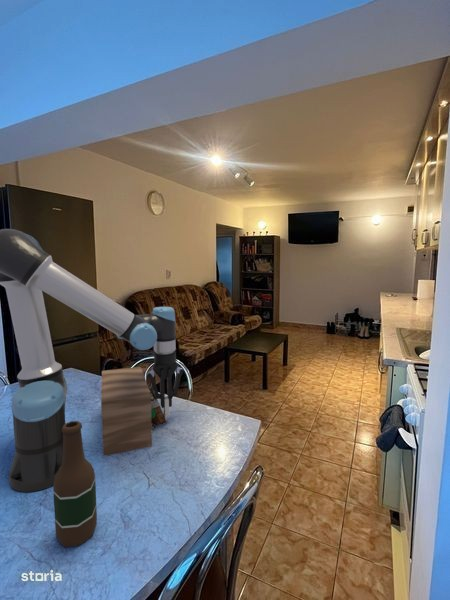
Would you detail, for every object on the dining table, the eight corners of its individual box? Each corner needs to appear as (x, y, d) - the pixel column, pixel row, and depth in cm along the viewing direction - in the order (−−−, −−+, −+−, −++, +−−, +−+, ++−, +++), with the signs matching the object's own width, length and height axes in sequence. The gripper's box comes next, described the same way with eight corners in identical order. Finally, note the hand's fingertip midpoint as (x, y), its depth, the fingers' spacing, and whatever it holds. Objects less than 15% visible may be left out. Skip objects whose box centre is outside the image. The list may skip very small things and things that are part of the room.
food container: (145, 415, 116) (135, 393, 113) (160, 407, 118) (151, 385, 115) (150, 433, 105) (139, 410, 102) (167, 424, 106) (157, 400, 103)
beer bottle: (99, 538, 64) (95, 428, 61) (56, 556, 60) (49, 438, 57) (94, 512, 70) (90, 411, 68) (55, 526, 67) (49, 420, 64)
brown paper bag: (151, 446, 96) (150, 395, 94) (103, 456, 91) (101, 402, 89) (141, 407, 122) (140, 366, 120) (103, 413, 117) (101, 370, 115)
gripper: (180, 346, 114) (181, 408, 117) (144, 350, 110) (146, 414, 112) (185, 352, 107) (186, 417, 110) (147, 356, 103) (149, 423, 106)
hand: (166, 415), depth 111 cm, fingers closed
